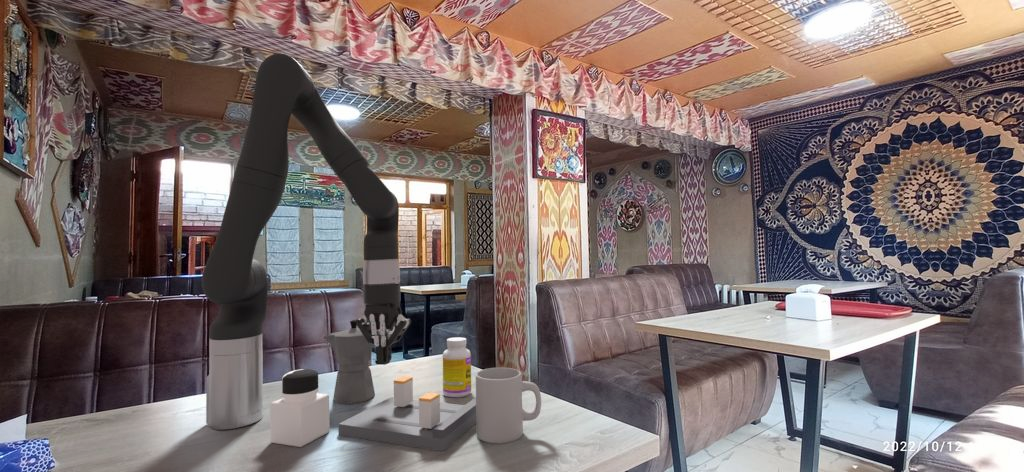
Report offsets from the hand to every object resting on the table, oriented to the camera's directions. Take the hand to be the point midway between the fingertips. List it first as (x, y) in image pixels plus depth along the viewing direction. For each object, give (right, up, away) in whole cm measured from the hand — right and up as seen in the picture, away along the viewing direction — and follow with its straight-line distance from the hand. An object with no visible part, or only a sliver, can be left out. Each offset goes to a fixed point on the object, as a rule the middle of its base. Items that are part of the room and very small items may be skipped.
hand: (384, 363), depth 93 cm
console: (+8, -10, -8) cm, 15 cm away
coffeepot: (-9, -11, +10) cm, 18 cm away
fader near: (+12, -7, -13) cm, 19 cm away
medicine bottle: (-12, -10, -12) cm, 20 cm away
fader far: (+5, -8, -2) cm, 9 cm away
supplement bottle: (+14, -11, +11) cm, 21 cm away
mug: (+26, -10, -12) cm, 31 cm away
